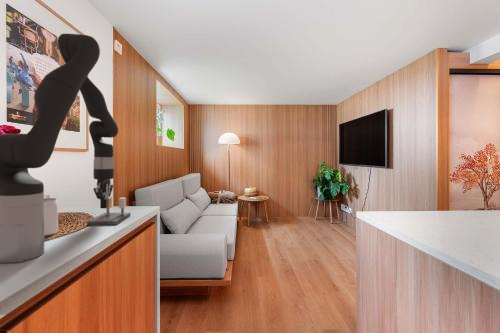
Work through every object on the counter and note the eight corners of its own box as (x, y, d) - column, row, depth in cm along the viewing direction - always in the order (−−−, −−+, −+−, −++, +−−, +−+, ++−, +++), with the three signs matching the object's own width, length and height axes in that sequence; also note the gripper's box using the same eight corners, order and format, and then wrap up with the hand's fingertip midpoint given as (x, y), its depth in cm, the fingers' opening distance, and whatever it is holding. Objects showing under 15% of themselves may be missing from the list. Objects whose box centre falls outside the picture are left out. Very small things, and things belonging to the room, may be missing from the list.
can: (62, 231, 90) (62, 198, 89) (46, 237, 83) (46, 201, 83) (46, 230, 90) (46, 197, 90) (28, 236, 84) (28, 200, 83)
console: (116, 224, 99) (116, 221, 99) (87, 225, 98) (87, 221, 98) (130, 215, 114) (130, 212, 114) (104, 216, 113) (104, 212, 113)
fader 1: (109, 213, 109) (109, 198, 109) (104, 213, 109) (104, 198, 109) (111, 212, 112) (111, 197, 112) (106, 212, 112) (106, 197, 112)
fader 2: (123, 213, 110) (123, 198, 110) (118, 213, 110) (119, 198, 110) (125, 212, 113) (126, 197, 113) (121, 212, 113) (121, 197, 112)
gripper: (105, 168, 100) (105, 211, 100) (119, 167, 113) (119, 205, 114) (86, 168, 99) (86, 211, 100) (102, 166, 112) (102, 204, 113)
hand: (103, 207), depth 107 cm, fingers closed
